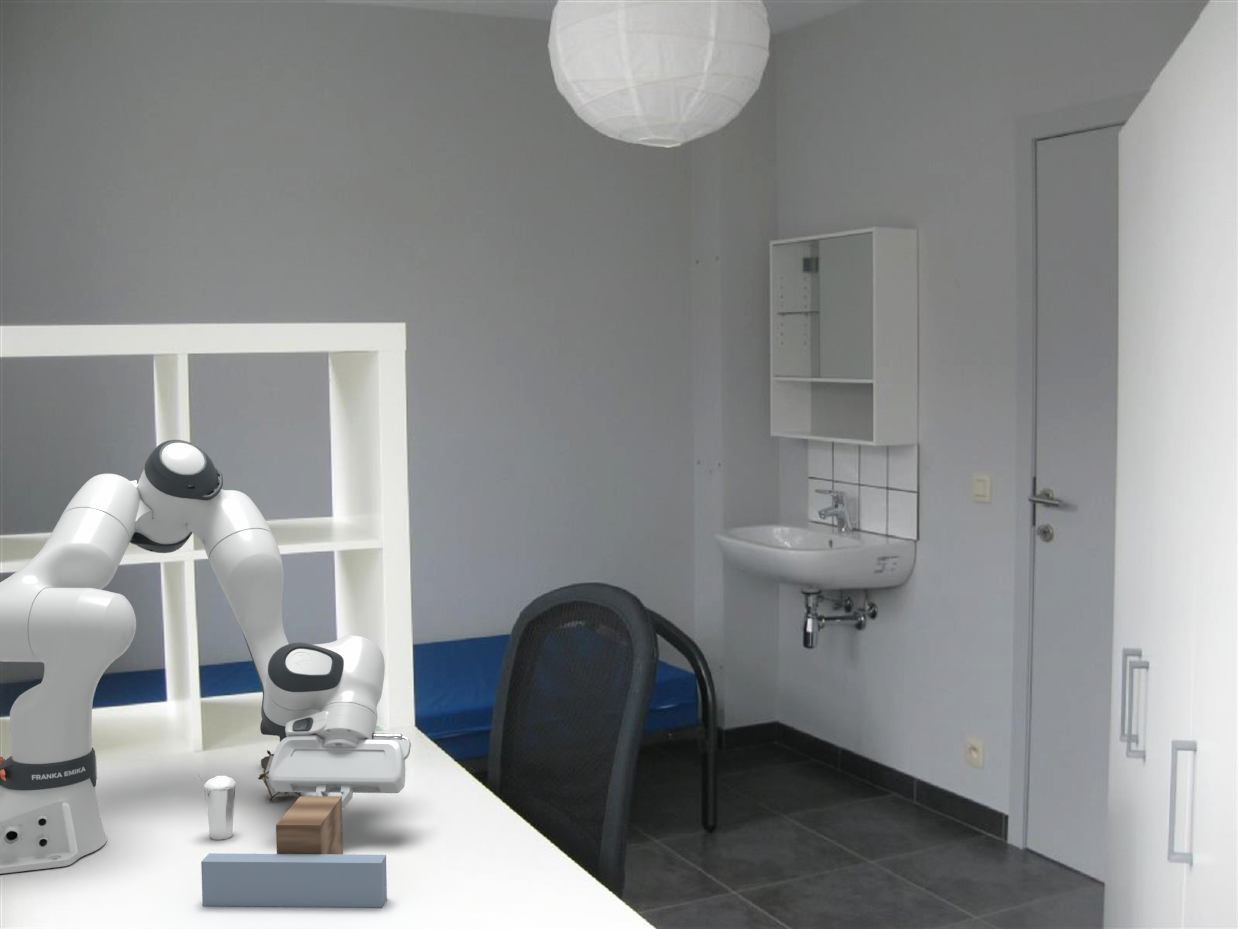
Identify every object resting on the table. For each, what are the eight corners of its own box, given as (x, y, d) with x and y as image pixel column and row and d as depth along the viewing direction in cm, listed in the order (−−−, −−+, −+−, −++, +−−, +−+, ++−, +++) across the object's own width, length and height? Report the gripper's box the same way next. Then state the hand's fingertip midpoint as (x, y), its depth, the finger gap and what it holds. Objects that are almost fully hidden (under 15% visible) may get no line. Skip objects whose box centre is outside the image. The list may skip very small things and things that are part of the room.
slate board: (386, 898, 180) (386, 854, 180) (382, 907, 177) (381, 863, 177) (210, 897, 181) (208, 853, 181) (202, 905, 178) (201, 861, 178)
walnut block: (322, 897, 181) (320, 825, 180) (277, 897, 181) (275, 825, 180) (343, 864, 193) (341, 796, 192) (301, 864, 193) (300, 796, 192)
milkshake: (199, 834, 206) (197, 770, 205) (235, 829, 207) (233, 766, 207) (201, 844, 201) (199, 778, 201) (238, 839, 203) (236, 774, 202)
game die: (291, 823, 221) (293, 786, 215) (246, 802, 223) (247, 765, 216) (320, 783, 228) (322, 747, 222) (276, 763, 230) (277, 726, 223)
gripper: (415, 744, 209) (403, 827, 200) (285, 743, 210) (267, 825, 201) (409, 723, 204) (396, 808, 195) (276, 722, 205) (257, 806, 196)
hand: (329, 817), depth 198 cm, fingers closed
